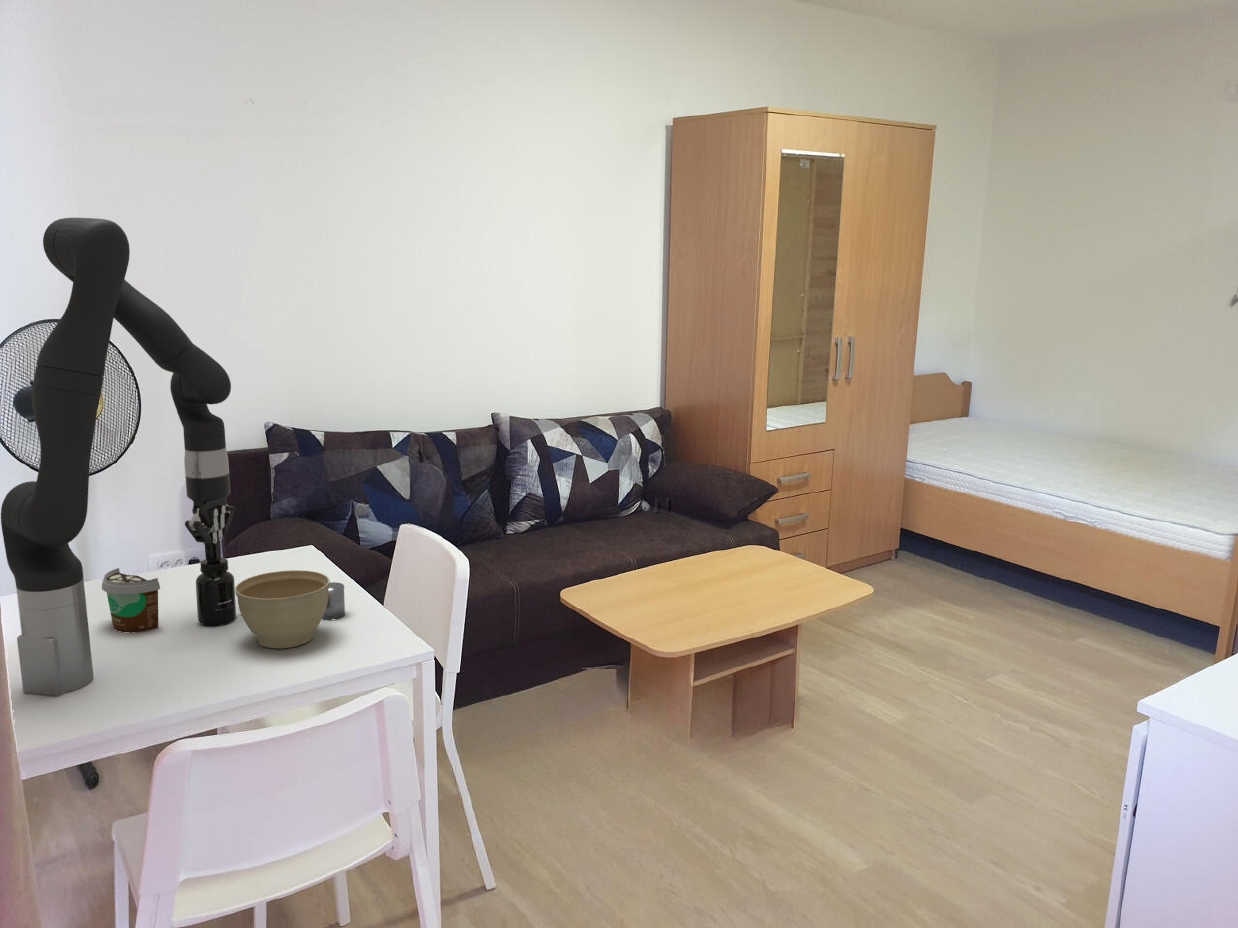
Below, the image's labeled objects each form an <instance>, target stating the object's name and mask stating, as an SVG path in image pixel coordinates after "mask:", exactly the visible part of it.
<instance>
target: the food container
mask: <svg viewBox="0 0 1238 928" xmlns="http://www.w3.org/2000/svg"><path fill="white" fill-rule="evenodd" d="M101 590H102V591H103V592H105V593H106V597H107V602H108V607H109V611H110V617H111V623H112V628H113V630H114V629H115V630H114V631H116V630H117V631H116V632H118V631H121V632H120V633H123V632H129V633H130V634H133V632H135V633H143V632H148V631H153V630H155V629H158V628H159V590H161V585H160V582H159V579H158V577H155V578H152V579H145V578H144V577H141V576H139V575H136V574H135V575H133V574H131V575H130V574H126V573H122V572H121V571H120V568H119V567H118V568H113V569H112V570H110V571H108V572H107V573H105V574H104V577H103V579H102V584H101ZM129 633H128V634H129Z"/></svg>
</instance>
